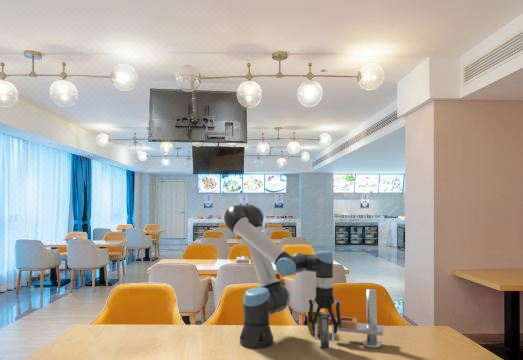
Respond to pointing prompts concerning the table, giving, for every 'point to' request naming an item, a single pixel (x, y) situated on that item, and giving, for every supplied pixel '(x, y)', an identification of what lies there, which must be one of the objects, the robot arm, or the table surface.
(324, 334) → the pin
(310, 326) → the flower pot
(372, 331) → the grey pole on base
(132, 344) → the table surface
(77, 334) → the table surface
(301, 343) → the table surface
